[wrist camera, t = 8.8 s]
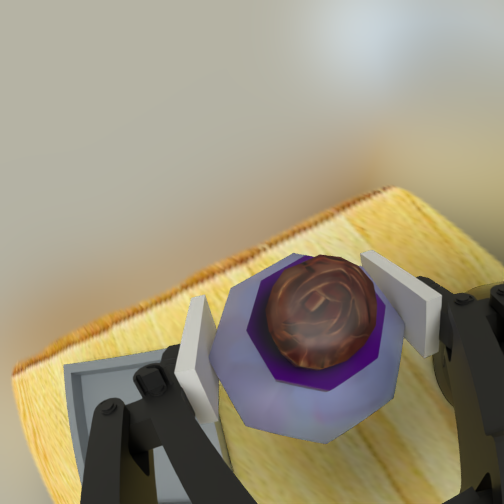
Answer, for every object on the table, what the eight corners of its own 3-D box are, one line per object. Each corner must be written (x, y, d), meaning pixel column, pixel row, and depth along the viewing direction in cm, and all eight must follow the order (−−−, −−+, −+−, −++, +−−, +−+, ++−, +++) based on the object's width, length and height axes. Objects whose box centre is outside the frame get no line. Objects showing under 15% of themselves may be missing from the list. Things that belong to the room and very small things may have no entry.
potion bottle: (288, 277, 21) (283, 143, 11) (394, 346, 18) (496, 265, 8) (207, 378, 19) (107, 331, 8) (316, 457, 16) (356, 524, 5)
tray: (205, 348, 31) (197, 342, 29) (241, 502, 23) (237, 511, 20) (78, 369, 31) (63, 364, 28) (102, 506, 22) (88, 511, 20)
